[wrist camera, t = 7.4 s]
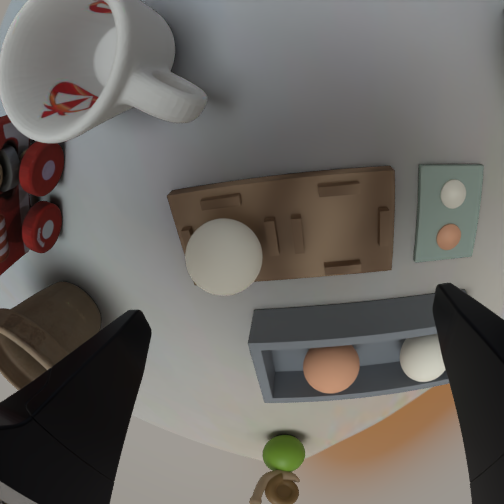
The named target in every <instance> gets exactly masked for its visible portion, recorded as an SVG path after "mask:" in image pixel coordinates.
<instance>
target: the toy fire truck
mask: <svg viewBox="0 0 504 504" xmlns="http://www.w3.org/2000/svg"><path fill="white" fill-rule="evenodd" d="M63 167H64V153H63V150H62V147H61V146H60V145H59V144H58V143H42V142H38V141H36V142H35V143H33V144H32V145H31V146H30V138H28V137H27V136H25V135H24V134H22V133H21V132H20V131H19V130H18V129H17V128H16V127H15V126H14V125H13V123H12V122H11V120H10V119H9V118H8V116H7V115H5V116H2V117H0V275H1V274H2V273H4V272H5V271H6V270H7V269H8V268H9V267H10V266H12V265H13V264H14V263H15V262H16V261H17V260H18V259H20V258H21V257H22V256H23V255H25V254H26V253H27V252H28V251H29V250H30V249H31V250H33V251H35V252H38V253H45V252H47V251H48V250H50V249H51V248H52V247H53V245H54V244H55V242H56V241H57V239H58V236H59V234H60V230H61V225H62V216H61V211H60V209H59V208H58V206H56V205H55V204H53V203H49V202H47V201H39V202H37V203H35V204H34V205H33V206H32V207H30V194H32V195H35V196H45V195H47V194H48V193H50V192H51V191H52V190H53V189H54V187H55V186H56V185H57V183H58V181H59V179H60V177H61V174H62V171H63Z"/></svg>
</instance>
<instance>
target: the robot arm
mask: <svg viewBox="0 0 504 504" xmlns="http://www.w3.org/2000/svg"><path fill="white" fill-rule="evenodd" d="M432 312H433V317H434V321H435V326H436V330H437V335H438V339H439V344H440V349H441V354H442V359H443V362H444V366H445V369H446V373H447V376H448V379H449V383H450V386H451V390H452V394H453V398H454V402H455V406H456V410H457V414H458V419H459V423H460V428H461V432H462V437H463V442H464V448H465V453H466V459H467V465H468V472H469V479H470V482H471V483H470V488H471V497H472V504H504V320H503V319H502V318H500V317H499V316H498V315H496V314H495V313H493V312H492V311H491V310H489V309H488V308H486V307H485V306H484V305H482V304H481V303H479V302H478V301H476V300H475V299H474V298H472V297H471V296H469V295H468V294H466V293H465V292H463V291H462V290H460V289H459V288H457V287H456V286H454V285H453V284H451V283H443V284H439V285H437V287H436V291H435V296H434V302H433V307H432ZM150 339H151V328H150V326H149V324H148V322H147V320H146V318H145V316H144V314H143V312H142V311H141V310H128V311H127V312H125V313H124V314H123V315H121V316H120V317H118V318H117V319H116V320H114V321H113V322H112V323H110V324H109V325H107V326H106V327H105V328H103V329H102V330H101V331H99V332H98V333H97V334H95V335H94V336H92V337H91V338H90V339H88V340H87V341H86V342H84V343H83V344H82V345H80V346H79V347H78V348H76V349H75V350H74V351H72V352H71V353H70V354H68V355H67V356H66V357H64V358H63V359H62V360H60V361H59V362H58V363H56V364H55V365H54V366H52V368H49V369H48V370H47V371H46V372H44V373H43V374H42V375H40V376H39V377H37V378H36V379H35V380H33V381H32V382H30V383H29V384H28V385H26V386H25V387H23V388H22V389H20V390H19V391H17V392H16V393H14V394H13V395H11V396H10V397H8V398H7V399H5V400H4V401H2V402H0V504H110V499H111V494H112V490H113V486H114V481H115V476H116V472H117V467H118V464H119V460H120V456H121V451H122V448H123V444H124V440H125V437H126V433H127V429H128V425H129V422H130V418H131V415H132V411H133V408H134V404H135V401H136V397H137V394H138V390H139V387H140V384H141V380H142V377H143V373H144V368H145V364H146V358H147V353H148V349H149V344H150Z"/></svg>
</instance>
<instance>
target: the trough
mask: <svg viewBox="0 0 504 504" xmlns="http://www.w3.org/2000/svg"><path fill="white" fill-rule="evenodd" d="M462 291H463V292H465V293H466V291H465V289H462ZM466 294H467V293H466ZM434 296H435V293H434V294H427V295H419V296H411V297H403V298H394V299H385V300H376V301H366V302H356V303H345V304H334V305H322V306H309V307H295V308H279V309H262V310H254V313H253V318H252V324H251V329H250V335H249V340H248V346H249V349H250V353H251V356H252V360H253V364H254V367H255V371H256V374H257V378H258V381H259V385H260V388H261V392H262V395H263V399H264V402H265V403H289V402H314V401H330V400H342V399H353V398H363V397H371V396H379V395H387V394H394V393H400V392H406V391H412V390H418V389H424V388H429V387H434V386H439V385H443V384H448V383H449V379H448V376H447V373H446V370H445V371H444V372H443V373H442V374H441V375H440V376H439V377H438V378H436V379H434V380H432V381H428V382H419V381H415V380H413V379H411V378H409V377H408V376H407V375H406V374H405V373H404V371H403V369H402V367H401V364H400V350H401V347H402V345H403V343H404V341H405V340H406V338H413V337H420V336H426V335H432V334H437V330H436V326H435V321H434V317H433V312H432V307H433V302H434ZM345 345H352V346H353V347H354V349H355V350H356V352H357V354H358V356H359V361H360V368H359V372H358V375H357V377H356V379H355V381H354V382H353V383H352V384H351V385H350V386H349V387H348V388H346V389H345V390H343V391H341V392H338V393H323V392H320V391H317V390H316V389H314V388H313V387H312V386H311V385H310V384H309V383H308V382H307V380H306V378H305V376H304V372H303V362H304V358H305V356H306V354H307V352H308V350H309V349H310V348H321V347H334V346H345Z"/></svg>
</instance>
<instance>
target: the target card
mask: <svg viewBox="0 0 504 504" xmlns="http://www.w3.org/2000/svg"><path fill="white" fill-rule="evenodd" d="M483 169H484V166H483V165H481V164H426V165H419V186H418V211H417V227H416V239H415V249H414V259H413V260H414V262H415V263H416V262H426V261H435V260H444V259H453V258H462V257H470V256H472V253H473V248H474V242H475V237H476V231H477V224H478V217H479V210H480V202H481V193H482V183H483Z"/></svg>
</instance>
